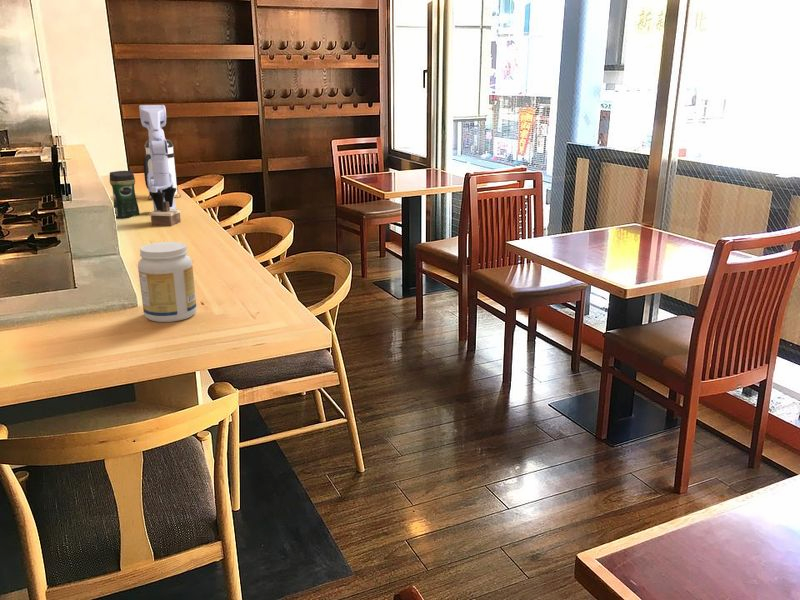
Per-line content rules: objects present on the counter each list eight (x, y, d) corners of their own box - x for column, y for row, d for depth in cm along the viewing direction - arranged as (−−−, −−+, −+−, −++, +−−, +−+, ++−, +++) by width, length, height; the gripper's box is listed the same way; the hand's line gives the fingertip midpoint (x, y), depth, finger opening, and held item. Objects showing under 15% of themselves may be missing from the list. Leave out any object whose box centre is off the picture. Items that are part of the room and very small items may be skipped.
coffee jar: (136, 213, 284) (131, 169, 278) (141, 216, 278) (136, 171, 272) (112, 216, 279) (106, 170, 273) (116, 219, 272) (110, 172, 267)
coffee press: (144, 197, 323) (136, 132, 314) (178, 194, 330) (172, 131, 321) (147, 202, 309) (140, 135, 299) (183, 200, 315) (177, 134, 306)
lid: (160, 212, 265) (158, 199, 264) (181, 213, 264) (180, 200, 263) (149, 217, 257) (147, 203, 255) (171, 217, 256) (169, 204, 254)
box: (161, 222, 266) (160, 211, 265) (180, 223, 265) (179, 212, 264) (151, 226, 259) (150, 215, 257) (171, 227, 258) (170, 215, 256)
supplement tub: (178, 303, 171) (171, 238, 165) (207, 314, 163) (201, 245, 158) (133, 316, 162) (125, 247, 156) (162, 327, 154) (154, 255, 149)
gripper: (160, 170, 263) (163, 205, 267) (141, 175, 249) (145, 211, 253) (177, 170, 262) (180, 205, 266) (159, 175, 248) (163, 212, 253)
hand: (164, 208), depth 260 cm, fingers open, 7 cm apart
